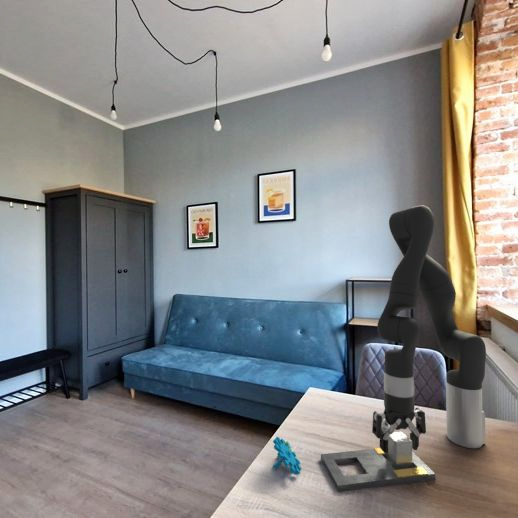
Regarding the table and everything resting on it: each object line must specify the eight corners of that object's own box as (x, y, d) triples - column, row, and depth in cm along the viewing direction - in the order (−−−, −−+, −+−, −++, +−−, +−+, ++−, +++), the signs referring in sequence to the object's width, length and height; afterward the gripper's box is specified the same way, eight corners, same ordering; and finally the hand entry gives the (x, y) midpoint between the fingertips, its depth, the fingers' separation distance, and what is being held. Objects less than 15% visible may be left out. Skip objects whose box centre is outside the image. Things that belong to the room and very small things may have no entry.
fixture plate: (405, 450, 89) (405, 444, 89) (435, 479, 78) (435, 472, 78) (320, 459, 86) (320, 453, 86) (338, 491, 74) (338, 484, 74)
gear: (302, 478, 76) (274, 445, 78) (285, 494, 76) (258, 461, 78) (303, 456, 87) (279, 428, 89) (288, 471, 87) (264, 442, 89)
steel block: (401, 460, 85) (401, 431, 85) (412, 471, 81) (412, 441, 81) (386, 462, 84) (386, 433, 85) (396, 473, 80) (396, 442, 80)
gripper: (413, 382, 87) (414, 439, 87) (367, 386, 85) (367, 444, 85) (432, 394, 80) (432, 456, 80) (381, 398, 78) (382, 461, 78)
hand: (399, 450), depth 83 cm, fingers open, 8 cm apart
